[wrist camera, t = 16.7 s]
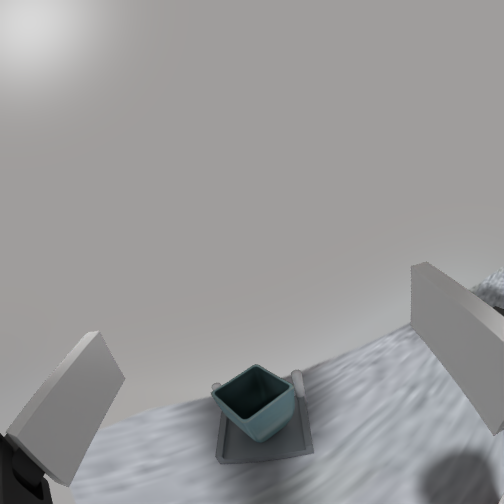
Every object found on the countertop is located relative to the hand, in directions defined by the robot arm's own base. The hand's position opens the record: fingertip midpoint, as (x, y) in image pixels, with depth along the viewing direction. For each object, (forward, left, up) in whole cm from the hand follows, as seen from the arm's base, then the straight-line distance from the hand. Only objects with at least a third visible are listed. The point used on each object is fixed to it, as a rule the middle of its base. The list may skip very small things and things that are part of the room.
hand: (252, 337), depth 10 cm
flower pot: (+6, -20, -31) cm, 37 cm away
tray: (+6, -20, -32) cm, 38 cm away
